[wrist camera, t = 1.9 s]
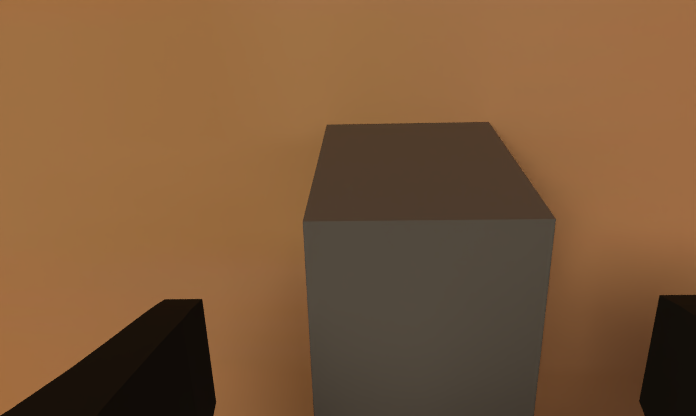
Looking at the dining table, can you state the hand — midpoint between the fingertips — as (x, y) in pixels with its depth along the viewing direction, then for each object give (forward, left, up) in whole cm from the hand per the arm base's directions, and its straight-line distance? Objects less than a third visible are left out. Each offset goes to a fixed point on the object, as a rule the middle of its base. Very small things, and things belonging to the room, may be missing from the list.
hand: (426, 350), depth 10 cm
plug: (0, 0, -7) cm, 7 cm away
